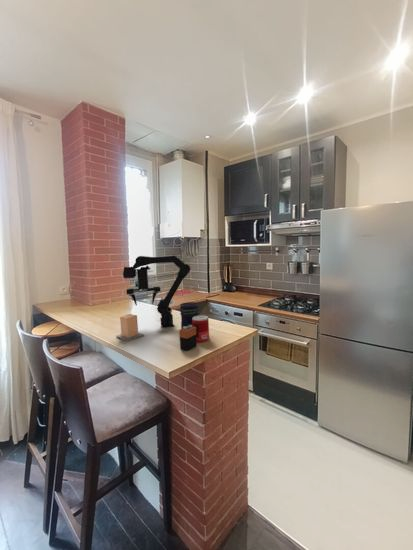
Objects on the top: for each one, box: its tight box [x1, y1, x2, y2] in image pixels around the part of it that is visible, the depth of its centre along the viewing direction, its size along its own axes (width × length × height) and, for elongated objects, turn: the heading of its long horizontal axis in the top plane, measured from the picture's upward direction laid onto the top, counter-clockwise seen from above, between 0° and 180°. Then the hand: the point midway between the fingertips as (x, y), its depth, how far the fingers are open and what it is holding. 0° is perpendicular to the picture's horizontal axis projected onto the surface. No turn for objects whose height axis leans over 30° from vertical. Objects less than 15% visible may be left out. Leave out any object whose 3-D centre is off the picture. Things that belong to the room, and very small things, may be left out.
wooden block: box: [119, 313, 139, 338], centre depth 133 cm, size 6×6×10 cm
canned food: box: [192, 314, 210, 343], centre depth 124 cm, size 8×8×11 cm
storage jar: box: [179, 301, 200, 329], centre depth 137 cm, size 10×10×15 cm
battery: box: [178, 325, 198, 352], centre depth 115 cm, size 4×7×10 cm, turn 143°
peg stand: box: [115, 331, 145, 342], centre depth 134 cm, size 10×10×4 cm
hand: (144, 304), depth 149 cm, fingers open, 9 cm apart
